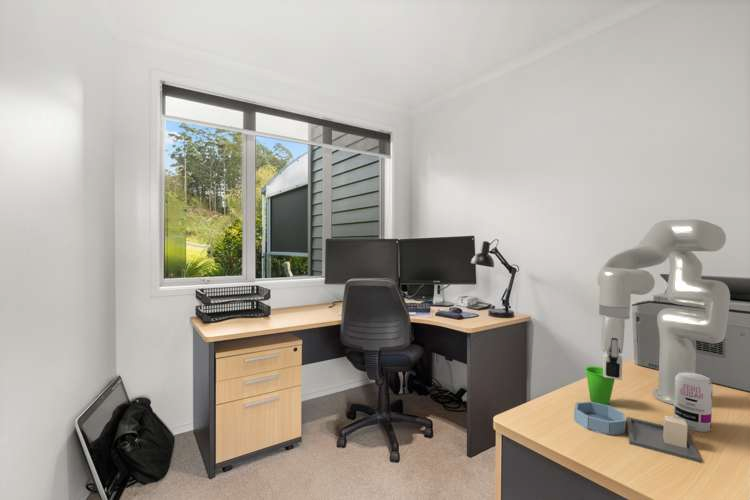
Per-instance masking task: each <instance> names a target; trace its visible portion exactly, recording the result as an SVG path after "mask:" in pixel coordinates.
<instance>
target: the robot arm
mask: <svg viewBox="0 0 750 500" xmlns="http://www.w3.org/2000/svg"><path fill="white" fill-rule="evenodd" d="M726 236H727V235H726V233H725V231H724V229H723V228H722V227H721V226H719V225H717V224H714V223H711V222H709V221H705V220H702V219H671V220H669V219H668V220H661V221H658V222H656V223H655V224H654V225H653V226H652V227H651V228H650V229H649V231H648V232H647V233H646V235H644V237H643V238H642V239H641V240H640V242H638V244H637V245H635V246H632V247H630V248H627V249H625V250H623V251H621V252H619V253H616V254H615V255H612V256H611V257H610V258H609V259H608V260H607V261H606V262H605V263H604V265H603V266H602V267H601V268H600V270H599V272H598V274H597V284H598V286H599V301H598V302H599V304H598V316H600V317H602V322H601V343H600V344H601V345H600V347H601V350H602V351H603V352H604V353H605V352H606V354H608V357H607V362H606V375H607V376H611V377H616V378H619V371H620V364H619V356H620V355H621V354H623V349H624V342H625V325H626V322H625V321H626V320H630V319H631V297H632V296H631V295H637V296H643V295H646V294H649V293H650V292H651V291H653V289H654V288H655V285H656V280H655V277H654V276H653V274H652V273H651V272H650V271H647V270H644V269H646V268H650V267H655V266H658V265H661V264H663V263H665V262H666V260H668V262H669V271H668V272H669V273H668V281H667V286H666V287H667V288H666V298H667V300H668V301H669V302H670V303H672V304H675V305H679V306H685V307H694V308H701V309H705V311H706V312H705V311H696V310H692V309H691V310H690V309H684V308H677V307H668V308H664V309H661V310H660V311H659V312H658V314H657V316H656V322H657V328H658V334H659V335H658V336H659V361H658V388H656V389H653V390H652V396H653V397H654V398H655V399H657V400H659V401H661V402H663V403H667V404H670V405H673V406H674V397H675V377H676V376H677V374H678V373H679V372H690V373H696V362H697V361H696V358H697V355H696V349H695V347H694V345H693V344H692V342H691V341H690V340H693V341H699V342H703V343H708V344H719V343H721V342H723V341H724V339H725V337H726V334H727V327H728V318H729V312H730V303H731V293H730V292H731V291H730V288H729V287H728V285H727V284H726V283H724V282H723V281H720V280H715V279H714V280H713V279H703V278H702V273H703V264H702V262H701V260H700V259H699V257H698V256H697V255H696V254H695V253H694V252H713V253H714V252H719V251H720V250H721V249H723V248H724V246H725V244H726V240H727V237H726ZM689 339H690V340H689ZM610 354H611V355H610Z"/></svg>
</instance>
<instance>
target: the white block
mask: <svg viewBox="0 0 750 500" xmlns="http://www.w3.org/2000/svg"><path fill="white" fill-rule="evenodd" d="M610 355H611V354H610ZM607 357H608V354H607V353H605V352H604V353H603V361H602V363H603V364H602V368H603V377H607V378H612V379H615V380H620V381H622V380H623V357H622V355H619V364H620V371H619V378H616V377H611V376H607V375H606V362H607Z"/></svg>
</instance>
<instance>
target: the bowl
mask: <svg viewBox="0 0 750 500" xmlns="http://www.w3.org/2000/svg"><path fill="white" fill-rule="evenodd" d="M573 411H574V412H573V413H574V416H573V417H574V421H575V423H577V424H578V425H579V426H581V427H583V428H585V429H587V430H589V431H592V432H594V433H597V434H602V435H606V436H607V435H609V436H618V435H622V434H623V433H626V416H625V413H624V412H622V411H621V410H618V409H617V408H614V407H613V406H611V405H604V404H599V403H595V402H591V400H590V401H589V400H588V401H578V402H575V404H574V410H573Z"/></svg>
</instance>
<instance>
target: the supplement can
mask: <svg viewBox="0 0 750 500" xmlns="http://www.w3.org/2000/svg"><path fill="white" fill-rule="evenodd" d="M712 408H713V384H712V382H711V380H710V378H709V377H707V376H705V375H703V374H699V373H696V372H695V373H690V372H679V373H678V374H677V376H676V377H675V397H674V405H673V417H674V418H679V419H684V420H685V421H686V423H687V430H690V431H694V432H701V433H704V432H707V433H708V432H710V431H712V415H713V414H712V411H713V410H712Z"/></svg>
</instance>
